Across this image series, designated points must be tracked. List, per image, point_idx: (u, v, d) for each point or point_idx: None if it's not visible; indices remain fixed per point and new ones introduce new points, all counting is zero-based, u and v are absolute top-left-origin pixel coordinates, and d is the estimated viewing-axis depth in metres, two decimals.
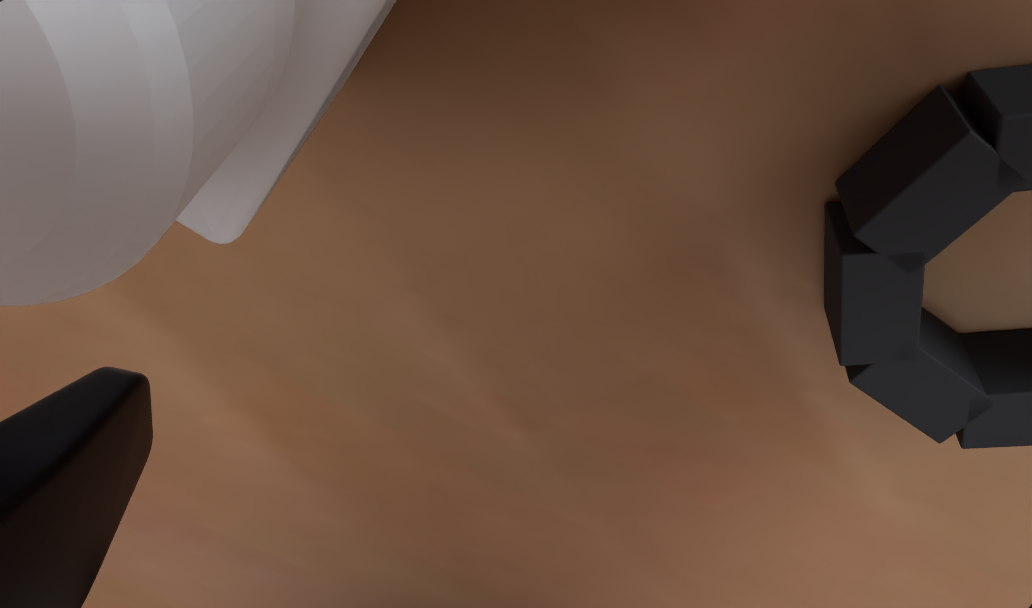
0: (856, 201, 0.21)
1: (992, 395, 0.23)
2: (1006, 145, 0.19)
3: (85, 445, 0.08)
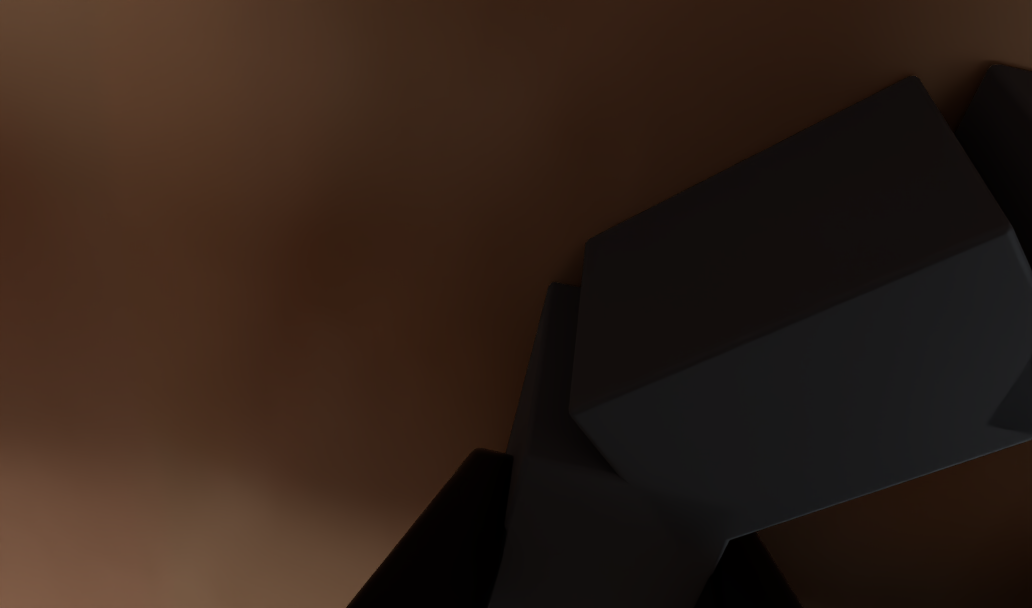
0: None
1: None
2: None
3: (504, 536, 0.08)
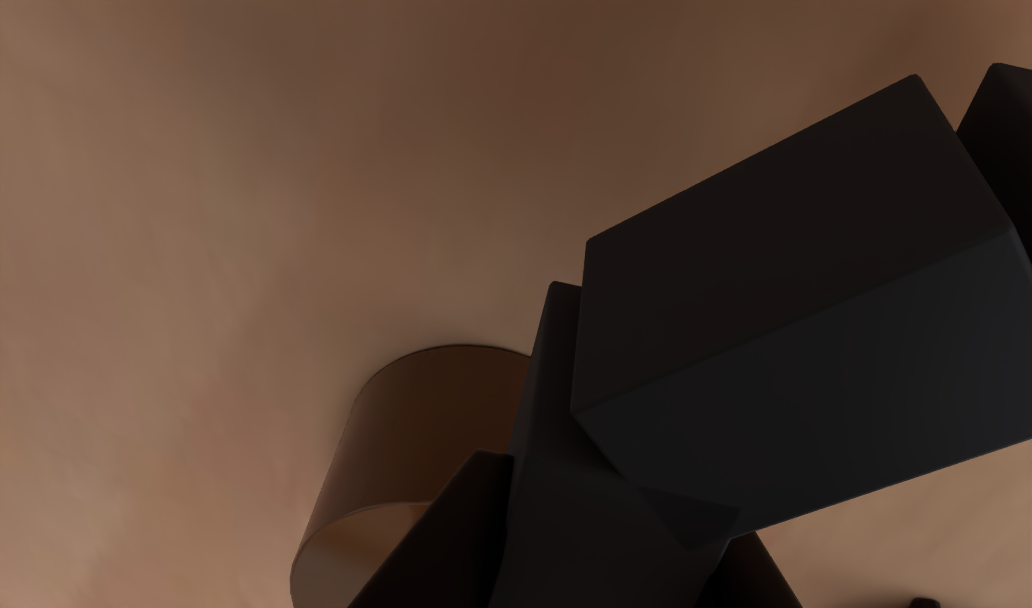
0: None
1: None
2: None
3: (505, 536, 0.08)
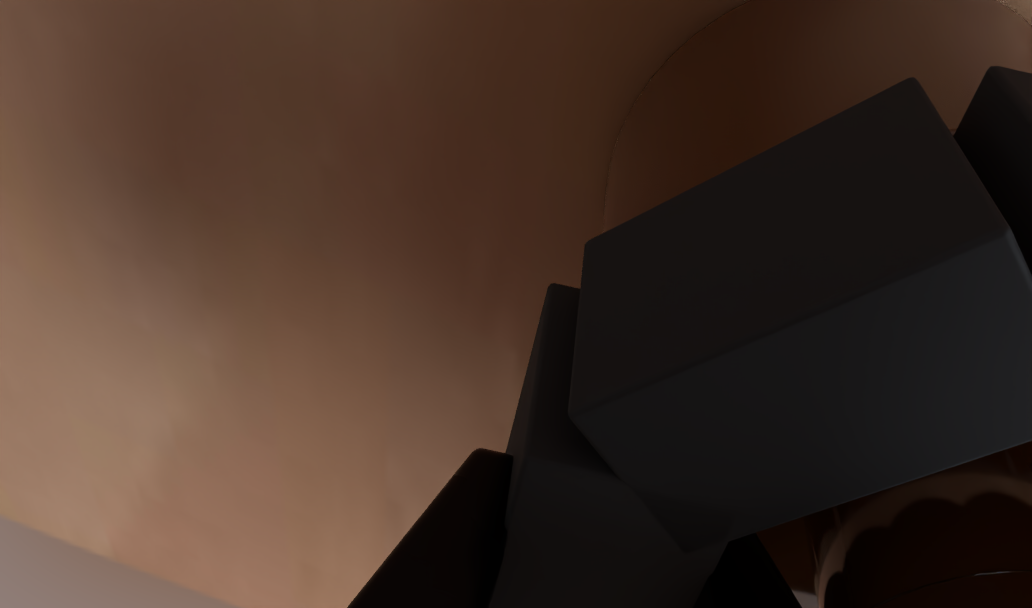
0: None
1: None
2: None
3: (505, 537, 0.08)
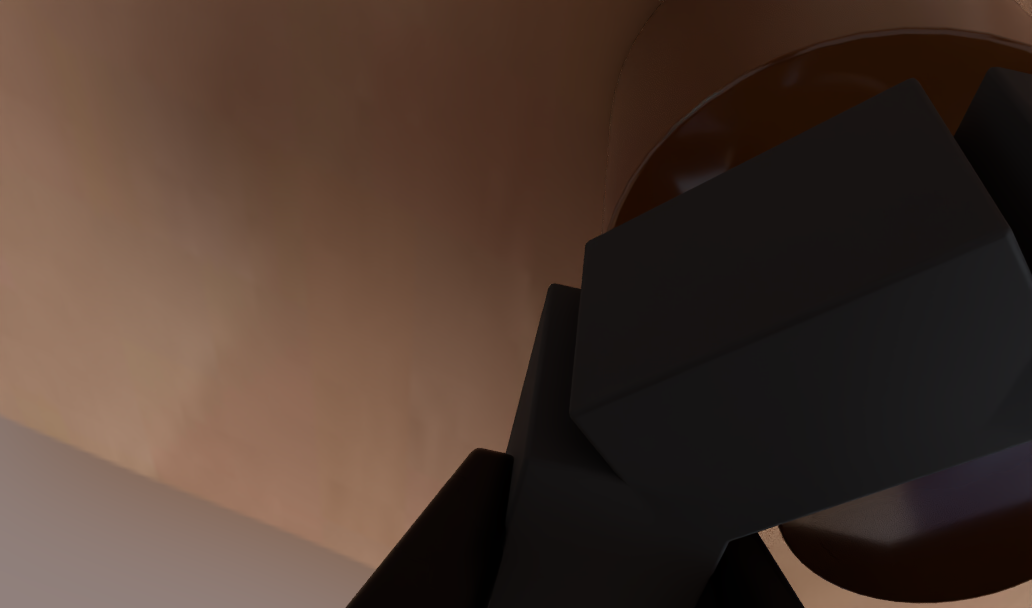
0: None
1: None
2: None
3: (504, 536, 0.08)
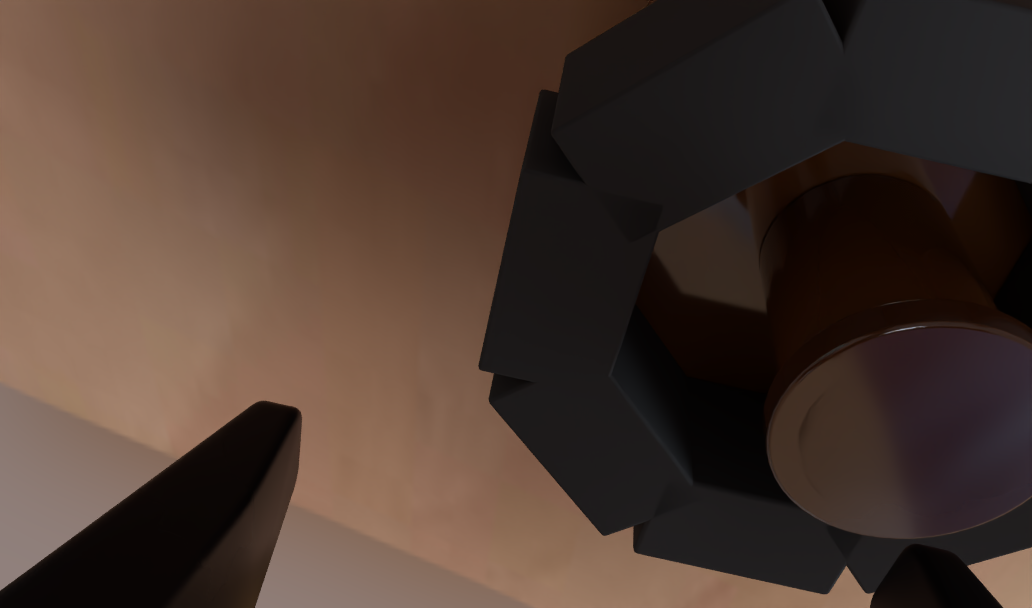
0: None
1: (614, 383, 0.13)
2: None
3: (260, 483, 0.08)
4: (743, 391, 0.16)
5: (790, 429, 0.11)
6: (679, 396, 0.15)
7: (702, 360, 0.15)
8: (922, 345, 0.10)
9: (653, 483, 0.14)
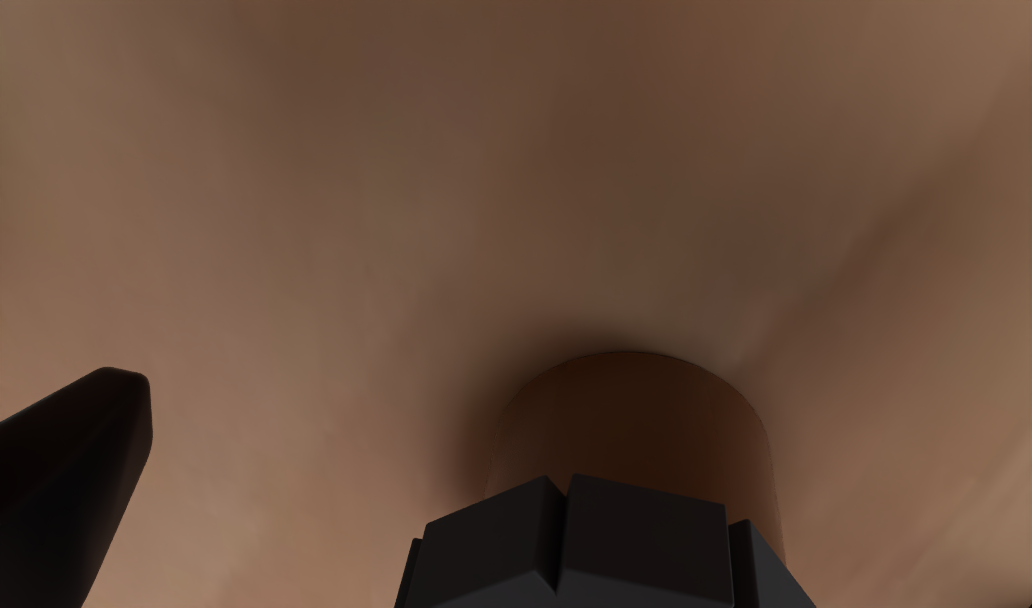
0: (587, 529, 0.18)
1: None
2: None
3: (85, 445, 0.08)
4: None
5: None
6: None
7: None
8: None
9: None
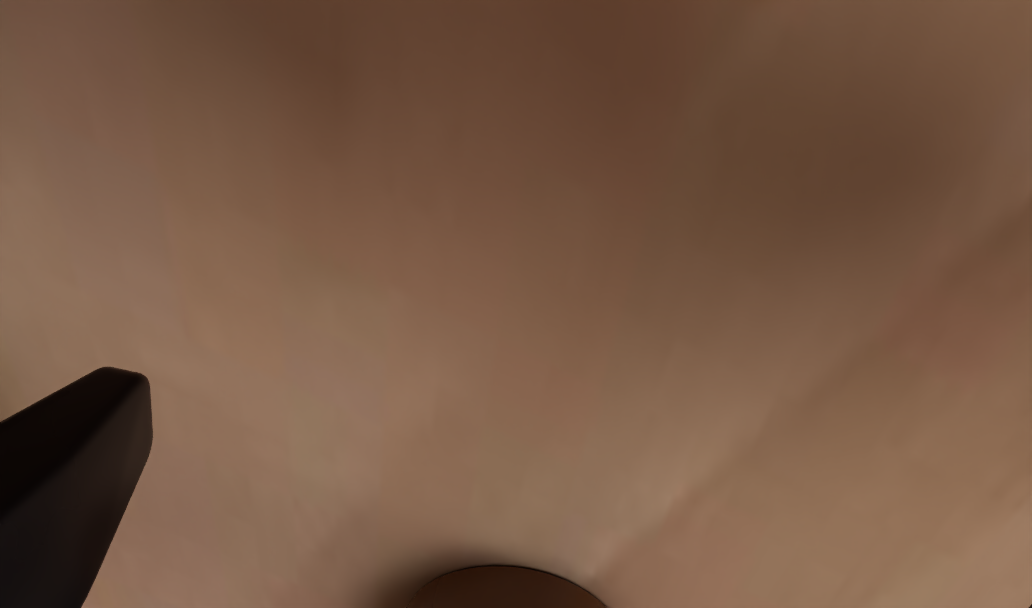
0: None
1: None
2: None
3: (85, 445, 0.08)
4: None
5: None
6: None
7: None
8: None
9: None
